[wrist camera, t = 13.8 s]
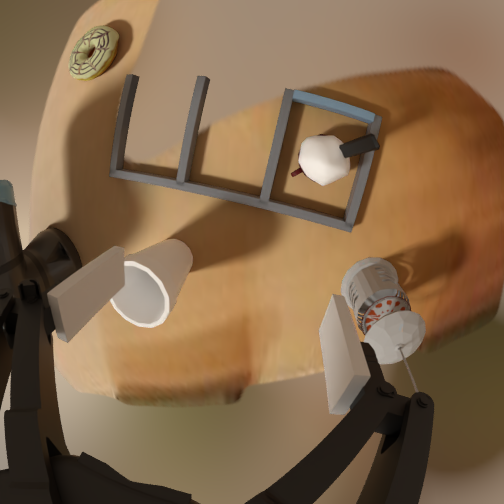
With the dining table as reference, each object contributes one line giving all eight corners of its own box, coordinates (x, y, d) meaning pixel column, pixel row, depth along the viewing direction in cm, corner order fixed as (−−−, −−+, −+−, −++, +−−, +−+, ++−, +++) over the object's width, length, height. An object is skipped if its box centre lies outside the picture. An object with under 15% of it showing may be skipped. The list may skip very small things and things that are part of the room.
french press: (383, 245, 38) (466, 354, 15) (409, 300, 40) (472, 413, 17) (329, 278, 41) (357, 413, 18) (360, 328, 43) (392, 454, 20)
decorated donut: (131, 28, 30) (120, 21, 27) (111, 82, 34) (97, 79, 31) (90, 31, 30) (78, 26, 27) (72, 81, 34) (59, 79, 31)
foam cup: (164, 217, 41) (118, 245, 29) (212, 250, 42) (181, 291, 30) (142, 262, 45) (99, 299, 33) (185, 293, 45) (153, 339, 33)
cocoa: (293, 181, 37) (288, 199, 26) (287, 137, 35) (280, 135, 24) (359, 177, 35) (383, 194, 24) (355, 132, 33) (378, 130, 22)
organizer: (116, 174, 40) (107, 176, 37) (133, 76, 33) (125, 74, 31) (348, 228, 38) (351, 233, 35) (377, 118, 32) (383, 116, 29)
